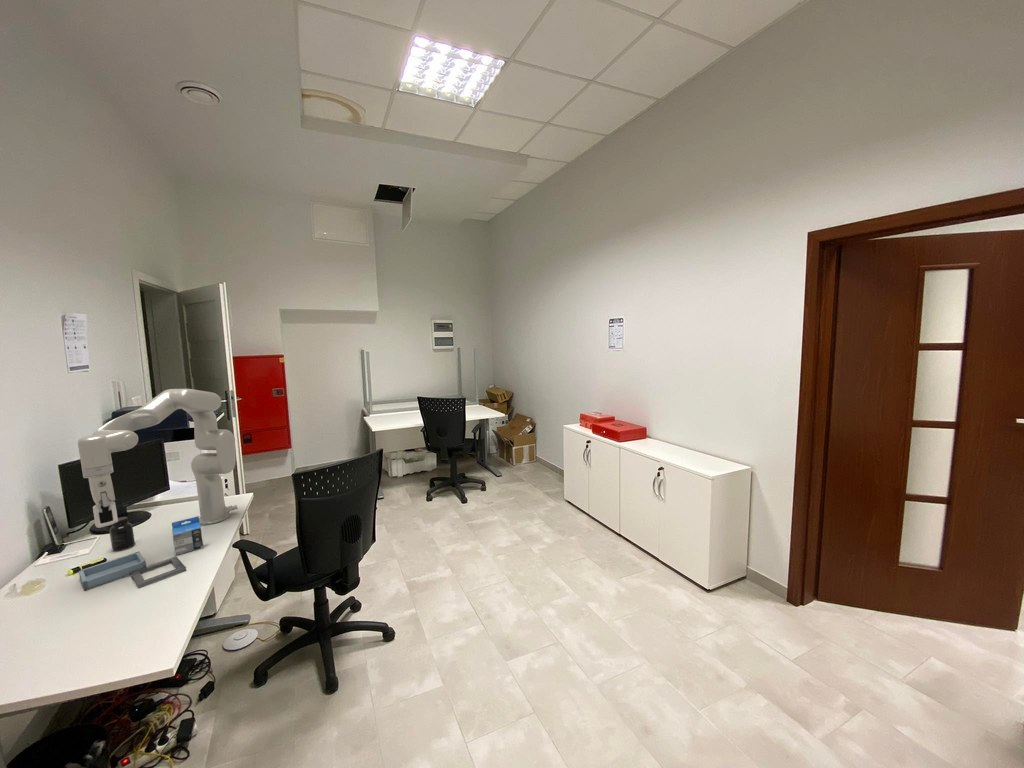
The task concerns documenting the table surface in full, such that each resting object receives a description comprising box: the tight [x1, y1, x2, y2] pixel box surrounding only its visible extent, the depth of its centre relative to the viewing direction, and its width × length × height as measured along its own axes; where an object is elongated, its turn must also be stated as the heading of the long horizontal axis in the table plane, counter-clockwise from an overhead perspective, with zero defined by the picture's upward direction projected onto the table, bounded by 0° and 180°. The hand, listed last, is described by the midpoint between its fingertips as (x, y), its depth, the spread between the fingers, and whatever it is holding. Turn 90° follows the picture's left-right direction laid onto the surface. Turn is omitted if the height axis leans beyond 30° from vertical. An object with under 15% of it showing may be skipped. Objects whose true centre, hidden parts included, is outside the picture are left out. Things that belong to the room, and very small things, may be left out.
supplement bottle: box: [108, 516, 136, 552], centre depth 166 cm, size 7×7×12 cm
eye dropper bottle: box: [92, 500, 119, 528], centre depth 144 cm, size 4×6×12 cm
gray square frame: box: [130, 555, 187, 589], centre depth 147 cm, size 13×13×1 cm
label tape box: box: [171, 516, 204, 556], centre depth 162 cm, size 9×4×12 cm, turn 130°
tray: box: [78, 551, 148, 592], centre depth 147 cm, size 16×12×3 cm
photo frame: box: [33, 535, 101, 568], centre depth 165 cm, size 15×1×18 cm
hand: (105, 519), depth 145 cm, fingers closed on eye dropper bottle, 3 cm apart
